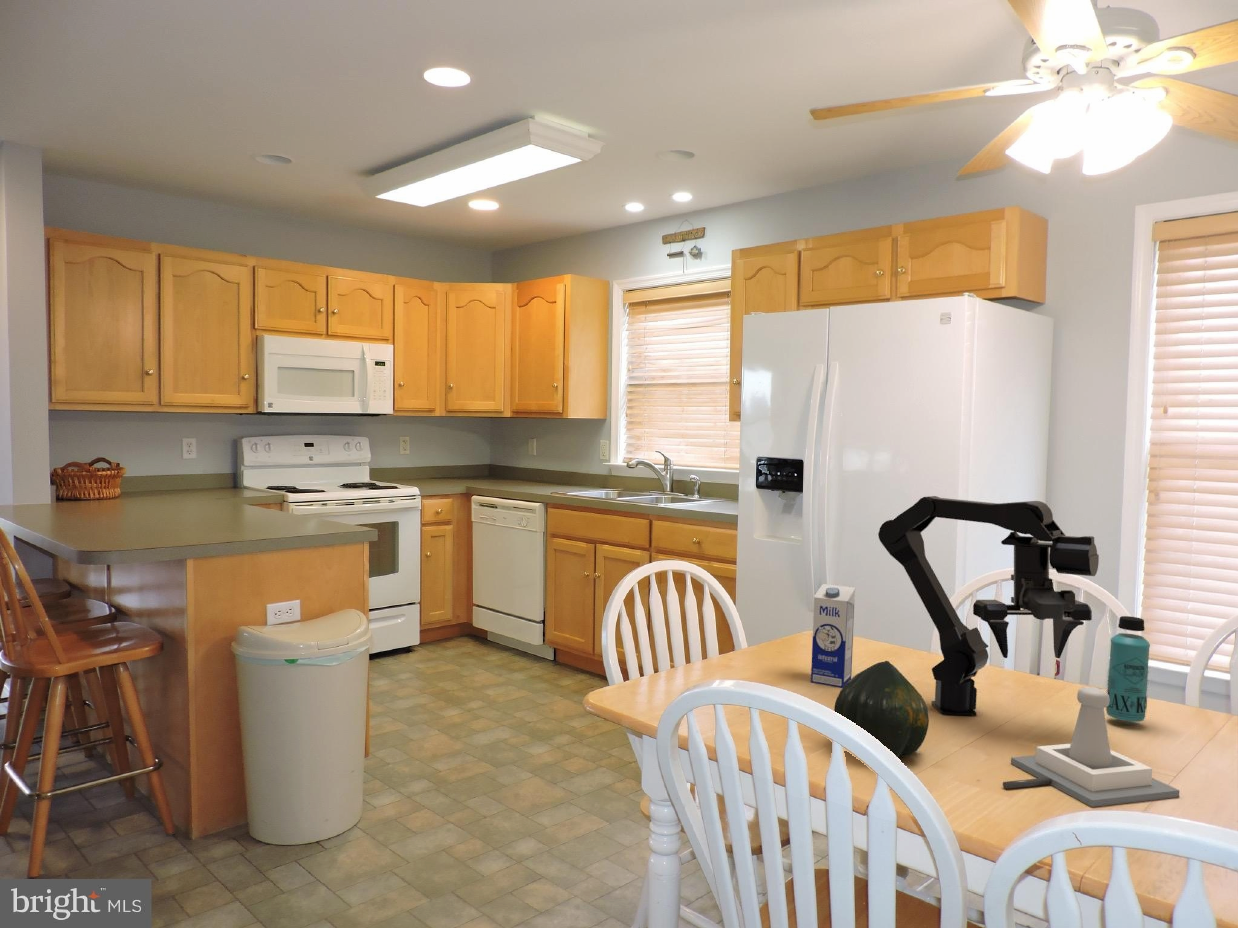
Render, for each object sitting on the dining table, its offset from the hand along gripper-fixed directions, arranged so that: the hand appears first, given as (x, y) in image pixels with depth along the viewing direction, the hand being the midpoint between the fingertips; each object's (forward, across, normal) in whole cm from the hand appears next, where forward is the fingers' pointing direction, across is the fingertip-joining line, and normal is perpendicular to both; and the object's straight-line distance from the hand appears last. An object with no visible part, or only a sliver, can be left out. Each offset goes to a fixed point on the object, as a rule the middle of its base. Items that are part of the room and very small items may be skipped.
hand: (1031, 657), depth 152 cm
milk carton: (+11, -31, +25) cm, 41 cm away
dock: (+13, -4, -23) cm, 27 cm away
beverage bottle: (+14, +19, +5) cm, 24 cm away
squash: (+12, -30, -13) cm, 35 cm away
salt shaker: (+13, -1, -22) cm, 25 cm away
